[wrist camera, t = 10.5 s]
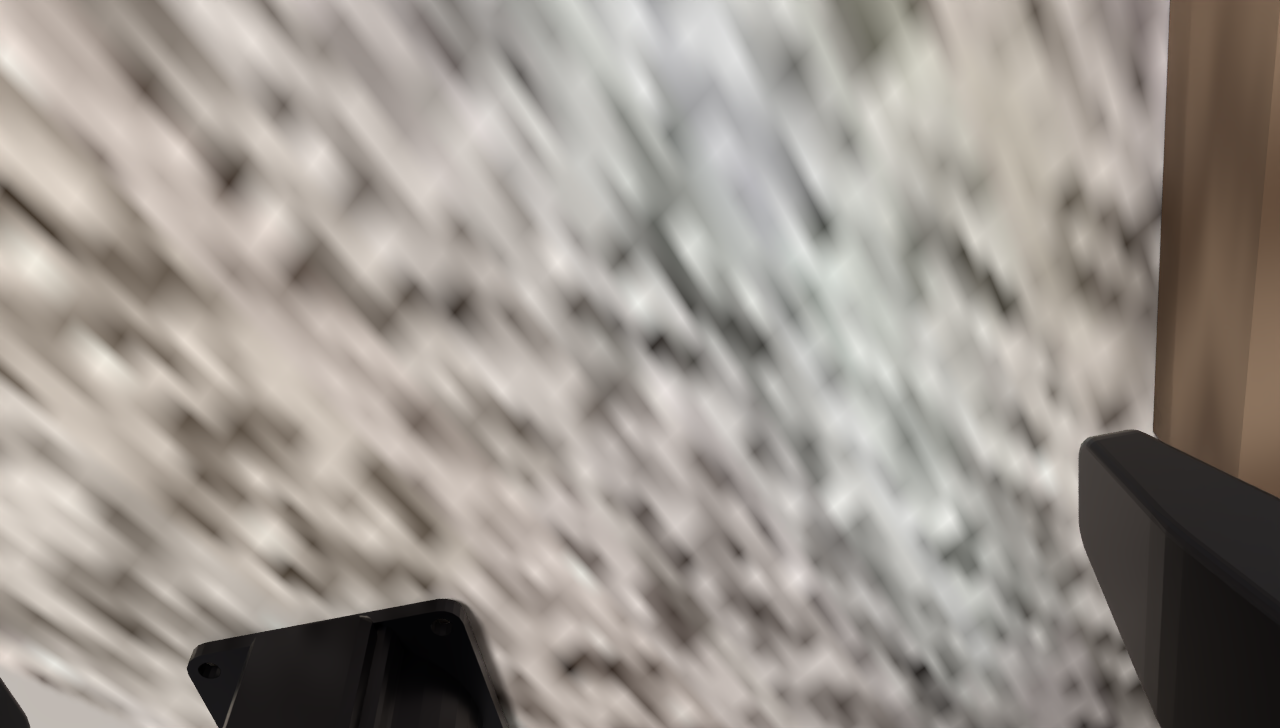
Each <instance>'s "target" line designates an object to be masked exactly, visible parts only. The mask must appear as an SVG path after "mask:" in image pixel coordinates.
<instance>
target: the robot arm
mask: <svg viewBox="0 0 1280 728" xmlns="http://www.w3.org/2000/svg"><path fill="white" fill-rule="evenodd" d="M1079 527H1080V533H1081V538H1082V542H1083V545H1084V548H1085V551H1086V553H1087V556H1088V558H1089V561H1090V563H1091V565H1092V568H1093V570H1094V572H1095V575H1096V577H1097V580H1098V582H1099V584H1100V587H1101V589H1102V592H1103V594H1104V596H1105V599H1106V601H1107V604H1108V606H1109V608H1110V611H1111V613H1112V615H1113V618H1114V620H1115V623H1116V625H1117V627H1118V630H1119V632H1120V635H1121V637H1122V639H1123V642H1124V644H1125V647H1126V649H1127V651H1128V654H1129V656H1130V658H1131V661H1132V663H1133V666H1134V668H1135V670H1136V673H1137V675H1138V678H1139V680H1140V682H1141V685H1142V687H1143V689H1144V692H1145V694H1146V696H1147V699H1148V701H1149V703H1150V705H1151V708H1152V710H1153V712H1154V714H1155V717H1156V719H1157V721H1158V723H1159V724H1160V726H1161V728H1280V498H1278V497H1276V496H1274V495H1272V494H1270V493H1268V492H1266V491H1264V490H1262V489H1260V488H1258V487H1256V486H1253V485H1251V484H1249V483H1247V482H1245V481H1243V480H1241V479H1239V478H1237V477H1235V476H1233V475H1231V474H1229V473H1227V472H1224V471H1222V470H1220V469H1218V468H1216V467H1214V466H1212V465H1210V464H1208V463H1206V462H1204V461H1202V460H1200V459H1198V458H1196V457H1193V456H1191V455H1189V454H1187V453H1185V452H1183V451H1181V450H1179V449H1177V448H1175V447H1173V446H1171V445H1169V444H1167V443H1165V442H1162V441H1160V440H1158V439H1156V438H1154V437H1152V436H1150V435H1148V434H1146V433H1144V432H1141V431H1138V430H1124V431H1119V432H1113V433H1108V434H1103V435H1098V436H1093V437H1089V438H1087V439H1086V440H1085V441H1084V442H1083V443H1082V444H1081V447H1080V451H1079ZM438 619H446V620H448V621H450V622H449V623H439V622H437V621H435V620H438ZM207 663H213V664H215V665H217V666H211V665H209V664H207ZM187 671H188V674H189V676H190V678H191V680H192V682H193V683H194V685H195V687H196V689H197V690H198V692H199V694H200V696H201V697H202V699H203V701H204V703H205V705H206V706H207V708H208V710H209V712H210V713H211V715H212V717H213V719H214V720H215V722H216V724H217V726H218V728H509V727H508V725H507V722H506V719H505V717H504V714H503V711H502V709H501V706H500V703H499V701H498V698H497V695H496V693H495V690H494V687H493V685H492V682H491V679H490V677H489V674H488V671H487V669H486V666H485V663H484V661H483V658H482V655H481V653H480V650H479V647H478V645H477V642H476V639H475V637H474V634H473V631H472V629H471V626H470V623H469V621H468V618H467V615H466V613H465V611H464V609H463V608H462V606H461V605H460V604H458V603H457V602H455V601H453V600H449V599H435V600H430V601H425V602H419V603H414V604H409V605H404V606H398V607H393V608H388V609H382V610H377V611H372V612H366V613H361V614H356V615H350V616H345V617H340V618H334V619H329V620H324V621H318V622H313V623H308V624H303V625H297V626H292V627H287V628H281V629H276V630H271V631H265V632H260V633H255V634H249V635H244V636H239V637H233V638H228V639H223V640H217V641H212V642H207V643H204V644H201V645H198V646H197V647H196V648H195V649H194V650H193V653H192V655H191V658H190V660H189V663H188V667H187ZM0 728H30V725H29V722H28V719H27V716H26V715H25V713H24V711H23V710H22V708H21V707H20V705H19V704H18V702H17V701H16V700H15V698H14V697H13V695H12V694H11V692H10V691H9V689H8V688H7V687H6V685H5V684H4V682H3V681H2V679H1V678H0Z"/></svg>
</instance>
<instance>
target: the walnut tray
mask: <svg viewBox="0 0 1280 728" xmlns="http://www.w3.org/2000/svg"><path fill="white" fill-rule="evenodd" d="M1153 432H1154V433H1155V434H1156V435H1157V437H1158V438H1159V439H1160V441H1162V442H1165V443H1167V444H1169V445H1171V446H1173V447H1175V448H1177V449H1179V450H1181V451H1183V452H1185V453H1187V454H1189V455H1191V456H1193V457H1196V458H1198V459H1200V460H1202V461H1204V462H1206V463H1208V464H1210V465H1212V466H1214V467H1216V468H1218V469H1220V470H1222V471H1224V472H1227V473H1229V474H1231V475H1233V476H1235V477H1237V478H1239V479H1241V480H1243V481H1245V482H1247V483H1249V484H1251V485H1253V486H1256V487H1258V488H1260V489H1262V490H1264V491H1266V492H1268V493H1270V494H1272V495H1274V496H1276V497H1278V498H1280V0H1170V21H1169V46H1168V72H1167V97H1166V122H1165V147H1164V172H1163V197H1162V222H1161V247H1160V272H1159V297H1158V322H1157V347H1156V372H1155V397H1154V422H1153Z"/></svg>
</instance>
